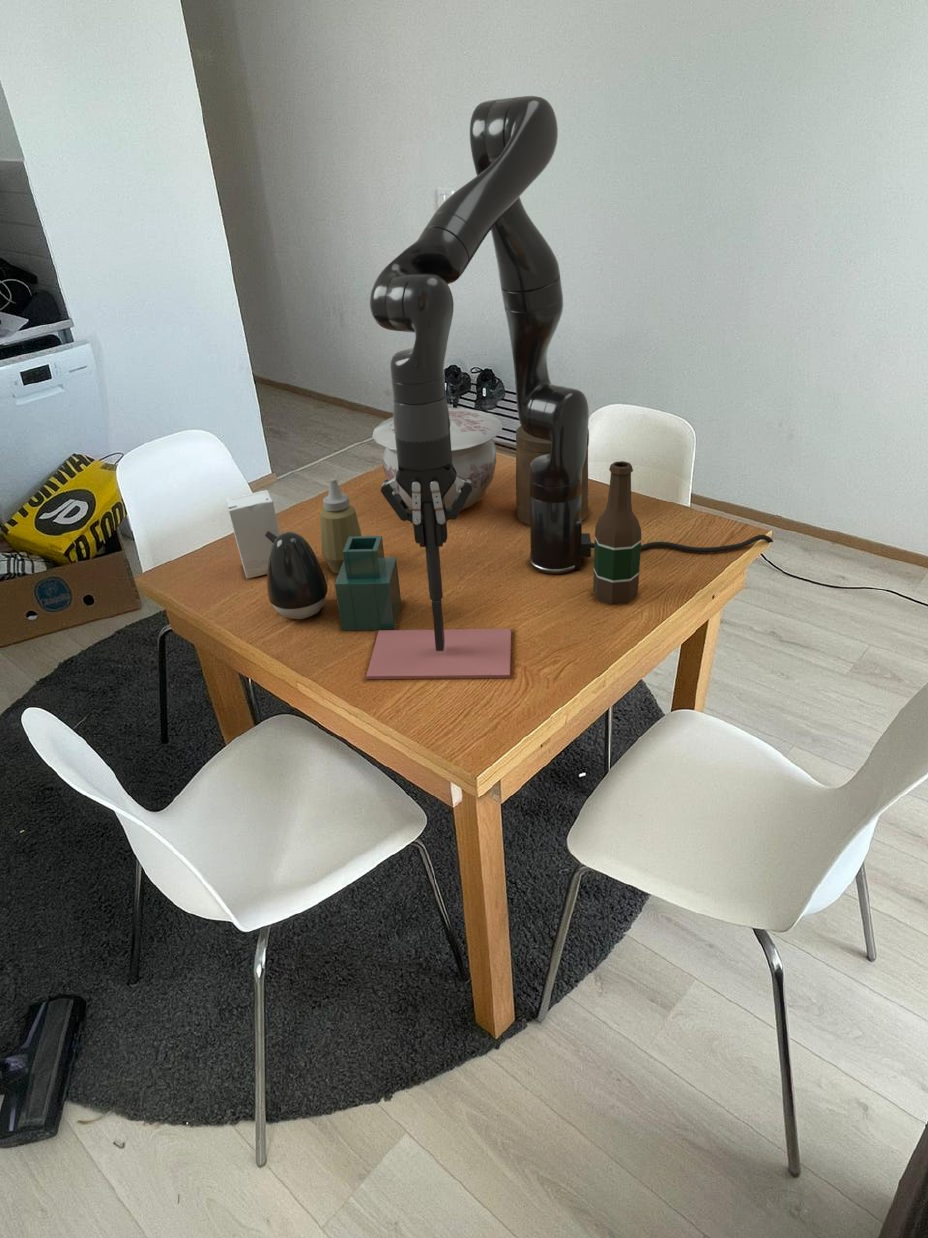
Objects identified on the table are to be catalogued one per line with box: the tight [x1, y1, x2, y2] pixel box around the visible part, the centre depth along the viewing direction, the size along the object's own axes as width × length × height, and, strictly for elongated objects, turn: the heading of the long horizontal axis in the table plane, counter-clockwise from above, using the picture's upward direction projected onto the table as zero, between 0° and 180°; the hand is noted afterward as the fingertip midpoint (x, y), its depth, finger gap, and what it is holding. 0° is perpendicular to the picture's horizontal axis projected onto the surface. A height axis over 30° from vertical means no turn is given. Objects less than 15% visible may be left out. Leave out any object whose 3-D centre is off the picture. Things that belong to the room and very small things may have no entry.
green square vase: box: [334, 535, 402, 631], centre depth 139 cm, size 9×9×14 cm
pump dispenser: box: [265, 531, 329, 620], centre depth 141 cm, size 10×10×15 cm
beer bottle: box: [592, 460, 642, 606], centre depth 138 cm, size 8×8×24 cm
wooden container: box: [515, 425, 590, 526], centre depth 168 cm, size 15×15×22 cm
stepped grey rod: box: [421, 501, 445, 651], centre depth 124 cm, size 2×3×25 cm
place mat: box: [365, 628, 512, 680], centre depth 131 cm, size 22×13×1 cm, turn 86°
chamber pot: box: [372, 407, 503, 510], centre depth 177 cm, size 28×28×21 cm
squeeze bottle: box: [319, 477, 363, 574], centre depth 153 cm, size 8×8×18 cm
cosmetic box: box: [225, 489, 281, 580], centre depth 156 cm, size 8×6×15 cm
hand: (432, 544), depth 121 cm, fingers closed on stepped grey rod, 2 cm apart
